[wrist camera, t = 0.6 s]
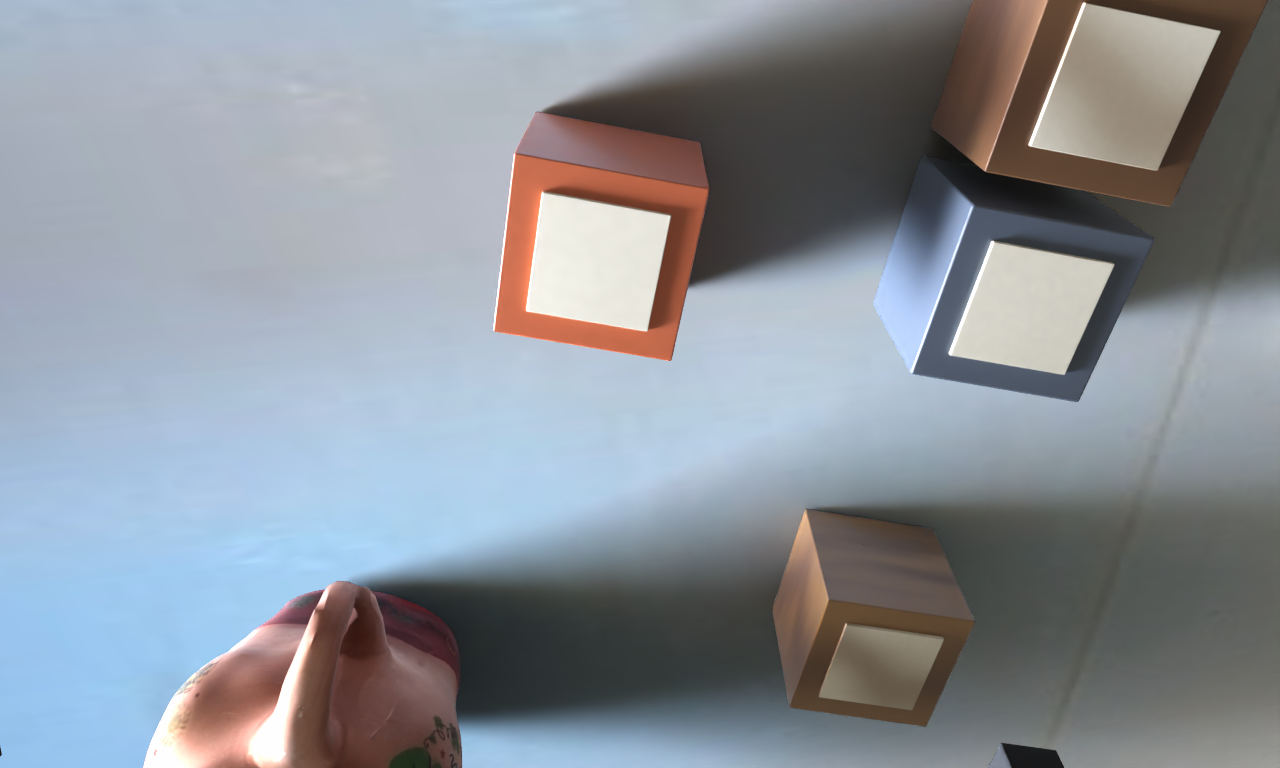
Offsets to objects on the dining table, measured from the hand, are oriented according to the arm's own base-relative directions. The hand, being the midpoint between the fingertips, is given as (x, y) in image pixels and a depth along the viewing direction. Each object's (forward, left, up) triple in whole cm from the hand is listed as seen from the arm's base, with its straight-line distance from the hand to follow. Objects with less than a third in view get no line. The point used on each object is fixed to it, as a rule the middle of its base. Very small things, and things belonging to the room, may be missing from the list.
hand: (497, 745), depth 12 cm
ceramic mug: (+23, -8, -25) cm, 35 cm away
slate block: (-1, +14, -25) cm, 29 cm away
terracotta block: (0, 0, -25) cm, 25 cm away
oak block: (+15, +14, -25) cm, 33 cm away
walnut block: (-8, +14, -25) cm, 30 cm away
